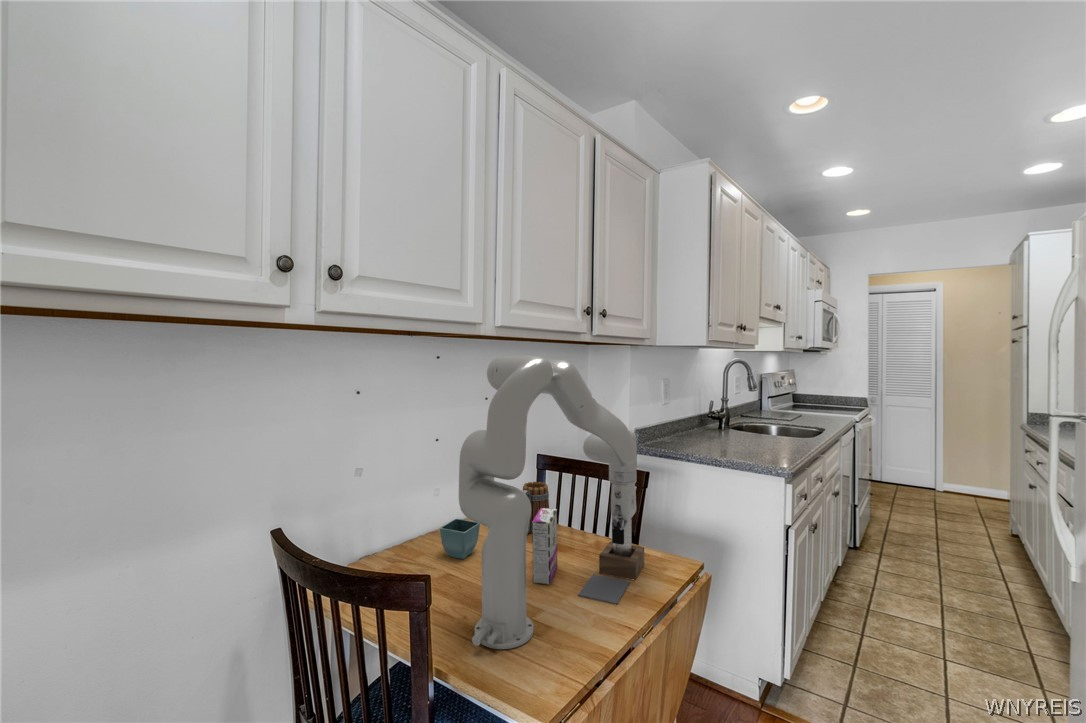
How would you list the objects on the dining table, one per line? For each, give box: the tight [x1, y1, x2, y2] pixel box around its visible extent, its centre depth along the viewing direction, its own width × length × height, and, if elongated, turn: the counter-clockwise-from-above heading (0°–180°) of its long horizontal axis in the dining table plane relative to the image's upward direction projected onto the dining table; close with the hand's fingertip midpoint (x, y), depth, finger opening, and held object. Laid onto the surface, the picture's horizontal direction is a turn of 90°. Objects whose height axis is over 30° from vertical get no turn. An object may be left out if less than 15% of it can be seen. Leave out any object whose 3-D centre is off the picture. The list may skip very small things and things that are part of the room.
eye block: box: [598, 541, 645, 581], centre depth 134 cm, size 10×10×5 cm
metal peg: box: [613, 516, 632, 557], centre depth 134 cm, size 5×5×14 cm
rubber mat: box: [577, 573, 631, 606], centre depth 122 cm, size 12×10×1 cm
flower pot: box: [439, 518, 481, 560], centre depth 143 cm, size 9×9×9 cm
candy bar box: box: [531, 507, 558, 585], centre depth 130 cm, size 11×5×16 cm, turn 168°
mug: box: [522, 481, 550, 534], centre depth 162 cm, size 16×11×15 cm
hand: (622, 536), depth 134 cm, fingers open, 9 cm apart
